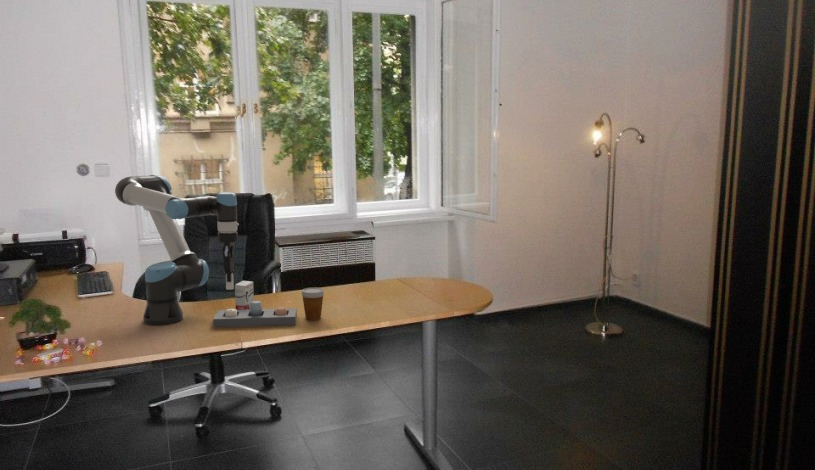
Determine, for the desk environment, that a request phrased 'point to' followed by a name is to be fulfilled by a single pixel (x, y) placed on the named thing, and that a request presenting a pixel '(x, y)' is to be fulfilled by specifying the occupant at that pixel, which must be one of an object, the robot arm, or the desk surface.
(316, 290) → the disposable coffee cup
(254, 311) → the slate button
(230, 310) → the cream button
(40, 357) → the desk surface
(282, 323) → the button panel
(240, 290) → the ink box
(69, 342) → the desk surface
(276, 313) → the pink rounded piece
